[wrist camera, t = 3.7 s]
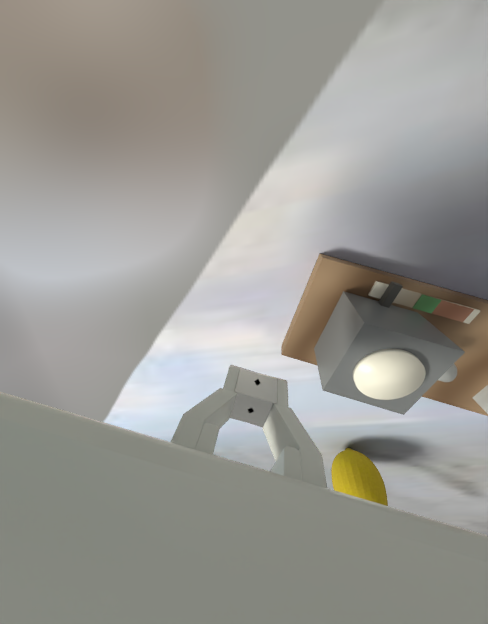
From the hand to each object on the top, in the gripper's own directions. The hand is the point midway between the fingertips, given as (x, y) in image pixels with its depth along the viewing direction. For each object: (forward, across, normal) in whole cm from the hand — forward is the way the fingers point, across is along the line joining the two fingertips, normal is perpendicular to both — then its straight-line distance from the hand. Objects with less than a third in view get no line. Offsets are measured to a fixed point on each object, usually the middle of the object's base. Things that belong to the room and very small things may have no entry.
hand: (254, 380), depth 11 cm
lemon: (+10, -16, +18) cm, 27 cm away
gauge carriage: (+9, -10, -1) cm, 13 cm away
